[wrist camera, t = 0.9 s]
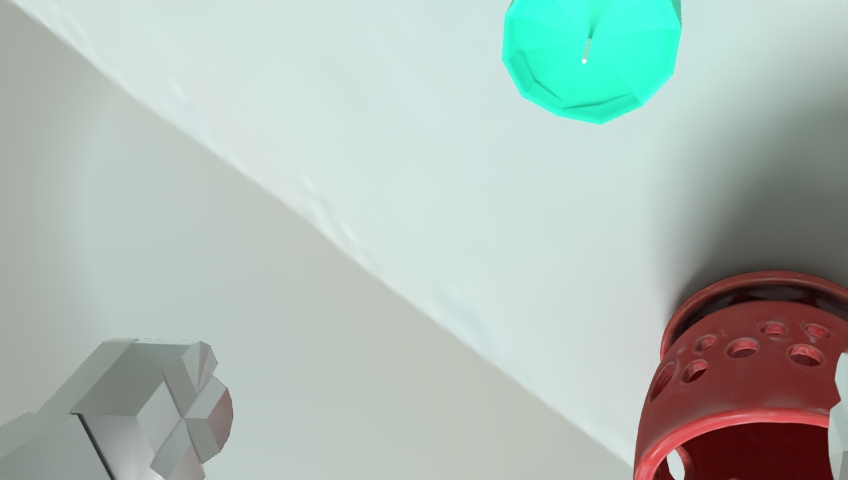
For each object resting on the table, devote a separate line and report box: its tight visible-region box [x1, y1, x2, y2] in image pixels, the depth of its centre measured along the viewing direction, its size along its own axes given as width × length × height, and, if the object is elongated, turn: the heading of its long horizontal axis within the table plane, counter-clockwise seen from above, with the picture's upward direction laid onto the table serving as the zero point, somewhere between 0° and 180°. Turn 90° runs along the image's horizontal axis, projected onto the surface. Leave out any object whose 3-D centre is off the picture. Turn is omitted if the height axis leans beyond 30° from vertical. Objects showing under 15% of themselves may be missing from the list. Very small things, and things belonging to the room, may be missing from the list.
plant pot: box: [633, 271, 848, 480], centre depth 38 cm, size 13×13×12 cm
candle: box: [502, 0, 682, 125], centre depth 29 cm, size 6×6×12 cm
